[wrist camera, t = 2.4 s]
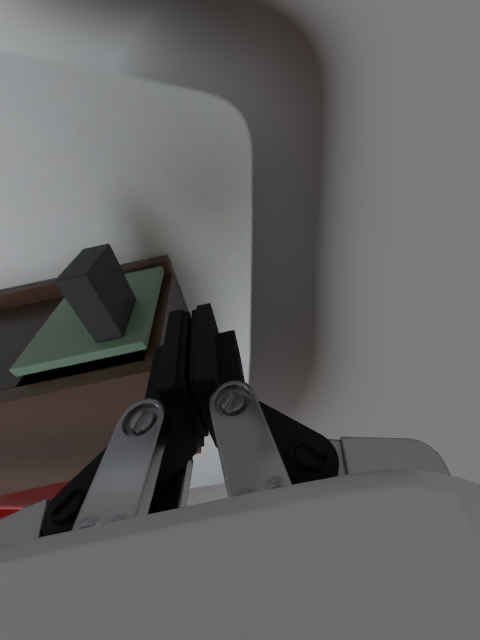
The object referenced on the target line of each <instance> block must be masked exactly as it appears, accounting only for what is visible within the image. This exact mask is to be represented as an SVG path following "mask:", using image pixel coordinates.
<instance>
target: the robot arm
mask: <svg viewBox="0 0 480 640" xmlns="http://www.w3.org/2000/svg"><path fill="white" fill-rule="evenodd" d="M209 432H210V435H211V437H212V439H213V441H214V443H215V446H216V447H217V448H218V451H219V456H220V460H221V465H222V470H223V475H224V479H225V484H226V489H227V493H228V498H226V499H220V500H216V501H211V502H206V503H201V504H196V505H191V506H186V505H187V499H188V492H189V486H190V480H191V474H192V467H193V458H192V457H193V456H194V455H195V453H196V452H197V451H198V447H202V446H204V437H205V436H208V435H209ZM0 640H480V485H479V484H477V483H474V482H470V481H468V480H465V479H462V478H458V477H454V476H451V475H450V473H449V471H448V469H447V467H446V464H445V462H444V461H443V460H442V458H441V457H440V455H439V454H438V453H437V452H436V451H435V450H434V449H433V448H432V447H430V446H429V445H427V444H425V443H423V442H421V441H418V440H414V439H407V438H370V437H368V438H367V437H341V439H340V440H332V439H327V438H325V437H324V436H323V435H321V434H319V433H317V432H315V431H313V430H311V429H310V428H308V427H306V426H304V425H302V424H300V423H299V422H297V421H295V420H293V419H291V418H290V417H288V416H286V415H284V414H282V413H280V412H279V411H277V410H275V409H273V408H271V407H269V406H267V405H266V404H264V403H262V402H260V401H258V399H257V397H256V394H255V392H254V390H253V389H252V387H251V386H250V385H248V384H247V383H245V381H244V375H243V369H242V364H241V358H240V353H239V349H238V344H237V340H236V336H235V332H234V330H232V331H227V332H223V333H219V332H218V328H217V325H216V321H215V318H214V314H213V311H212V307H211V304H210V303H208V304H203V305H198V306H197V307H196V310H192V318H191V315H190V312H189V311H187V312H185V311H184V309H180V310H175V311H170V312H169V315H168V321H167V327H166V333H165V339H164V344H163V345H161V346H157V347H156V348H155V351H154V356H153V360H152V365H151V370H150V375H149V380H148V385H147V390H146V395H145V399H143V400H140V401H138V402H136V403H134V404H132V405H131V406H130V407H128V408H127V409H126V410H125V411H124V413H123V414H122V415H121V417H120V419H119V420H118V423H117V425H116V427H115V430H114V432H113V435H112V437H111V439H110V442H109V444H108V446H107V447H106V448H105V449H104V450H103V451H102V452H101V453H100V454H99V455H97V456H96V457H95V458H94V459H93V460H92V461H91V462H90V463H89V464H88V465H87V466H86V467H85V468H84V469H83V470H81V471H80V472H79V473H78V474H77V475H76V476H75V477H74V478H73V479H72V480H71V481H70V482H69V483H68V484H66V485H65V486H64V487H63V488H62V489H61V490H60V491H59V492H58V493H57V495H56V496H55V497H54V498H53V499H52V500H49V499H47V498H46V499H44V500H42V501H40V502H37V503H35V504H33V505H31V506H28V507H26V508H24V509H22V510H19V511H17V512H15V513H13V514H10V515H8V516H6V517H4V518H1V519H0Z"/></svg>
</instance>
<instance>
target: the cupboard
mask: <svg viewBox="0 0 480 640" xmlns="http://www.w3.org/2000/svg"><path fill="white" fill-rule="evenodd" d="M159 266H162V267H163V270H164V275H163V279H162V284H161V288H160V293H159V297H158V302H157V306H156V310H155V315H154V319H153V324H152V328H151V333H150V337H149V341H148V346H147V349H145V350H140V351H136V352H131V353H126V354H122V355H117V356H112V357H107V358H103V359H98V360H93V361H89V362H84V363H79V364H74V365H70V366H65V367H60V368H56V369H51V370H46V371H41V372H37V373H32V374H27V375H23V376H18V377H16V376H14V375H13V374H12V373H11V372H10V371H9V369H10V368H11V367H12V365H13V364H14V363H15V361H16V360H17V359H18V358H19V356H20V355H21V354H22V352H23V351H24V350H25V348H26V347H27V346H28V344H29V343H30V342H31V340H32V339H33V338H34V337H35V335H36V334H37V333H38V331H39V330H40V329H41V327H42V326H43V325H44V323H45V322H46V321H47V319H48V318H49V317H50V316H51V314H52V313H53V312H54V310H55V309H56V308H57V306H58V305H59V304H60V302H61V301H62V300H63V298H64V296H63V294H62V293H61V292H60V290H59V289H58V287H57V286H56V284H55V283H54V281H55V280H56V279H52V280H48V281H43V282H38V283H34V284H29V285H24V286H19V287H15V288H10V289H5V290H1V291H0V495H4V494H9V493H13V492H18V491H23V490H28V489H32V488H37V487H42V486H46V485H51V484H56V483H61V482H65V481H70V480H72V479H73V478H74V477H75V476H76V475H77V474H78V473H79V472H80V471H81V470H83V469H84V468H85V467H86V466H87V465H88V464H89V463H90V462H91V461H92V460H93V459H94V458H95V457H96V456H97V455H99V454H100V453H101V452H102V451H103V450H104V449H105V448H106V447H107V446H108V444H109V442H110V439H111V437H112V435H113V432H114V430H115V427H116V425H117V423H118V420H119V419H120V417H121V415H122V414H123V413H124V411H125V410H126V409H127V408H128V407H130V406H131V405H132V404H134V403H136V402H138V401H140V400H143V399H145V395H146V390H147V385H148V380H149V375H150V370H151V365H152V360H153V356H154V351H155V348H156V347H157V346H161V345H163V344H164V339H165V333H166V327H167V321H168V315H169V312H170V311H175V310H180V309H184V311H185V312H187V311H188V309H187V306H186V303H185V300H184V298H183V295H182V292H181V289H180V286H179V284H178V281H177V278H176V275H175V273H174V270H173V267H172V264H171V261H170V259H169V256H168V255H165V256H161V257H156V258H151V259H146V260H142V261H137V262H132V263H128V264H123V265H120V267H121V269H122V271H123V273H124V274H126V273H131V272H136V271H140V270H145V269H150V268H155V267H159ZM198 453H201V447H198V451H197V452H196V453H195V454H198Z"/></svg>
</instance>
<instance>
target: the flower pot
mask: <svg viewBox="0 0 480 640" xmlns="http://www.w3.org/2000/svg"><path fill="white" fill-rule="evenodd" d="M70 481H71V480H70ZM70 481H65V482H61V483H56V484H51V485H46V486H42V487H37V488H32V489H28V490H23V491H18V492H13V493H9V494H4V495H0V519H1V518H4V517H6V516H8V515H10V514H13V513H15V512H17V511H19V510H22V509H24V508H26V507H28V506H31V505H33V504H35V503H37V502H40V501H42V500H44V499H46V498H47V499H49V500H52V499H53V498H54V497H55V496H56V495H57V493H58V492H59V491H60V490H61V489H62V488H63V487H64V486H65V485H66V484H68V483H69V482H70Z"/></svg>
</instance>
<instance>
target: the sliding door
mask: <svg viewBox="0 0 480 640" xmlns="http://www.w3.org/2000/svg"><path fill="white" fill-rule="evenodd" d="M163 275H164V270H163V267H162V266H159V267H155V268H150V269H145V270H140V271H136V272H131V273H126V274H124V273H123V271H122V269H121V267H120V265H119V263H118V261H117V259H116V257H115V255H114V253H113V251H112V249H111V247H110V245H109V244H105V245H100V246H95V247H91V248H86V249H83V250H82V251H81V252H80V253H79V254H78V256H77V257H76V258H75V259H74V260H73V261H72V262H71V263H70V264H69V266H68V267H67V268H66V269H65V270H64V271H63V272H62V273H61V274H60V276H59V277H58V278H57V279H56V280H55V281H54V283H55V284H56V286H57V287H58V289H59V290H60V292H61V293H62V294H63V296H64V298H63V300H62V301H61V302H60V304H59V305H58V306H57V308H56V309H55V310H54V312H53V313H52V314H51V316H50V317H49V318H48V319H47V321H46V322H45V323H44V325H43V326H42V327H41V329H40V330H39V331H38V333H37V334H36V335H35V337H34V338H33V339H32V340H31V342H30V343H29V344H28V346H27V347H26V348H25V350H24V351H23V352H22V354H21V355H20V356H19V358H18V359H17V360H16V361H15V363H14V364H13V365H12V367H11V368H10V369H9V371H10V372H11V373H12V374H13V375H14V376H16V377H18V376H23V375H27V374H32V373H37V372H41V371H46V370H51V369H56V368H60V367H65V366H70V365H74V364H79V363H84V362H89V361H93V360H98V359H103V358H107V357H112V356H117V355H122V354H126V353H131V352H136V351H140V350H145V349H147V346H148V341H149V337H150V333H151V328H152V324H153V319H154V315H155V310H156V306H157V302H158V297H159V293H160V288H161V284H162V279H163Z"/></svg>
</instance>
